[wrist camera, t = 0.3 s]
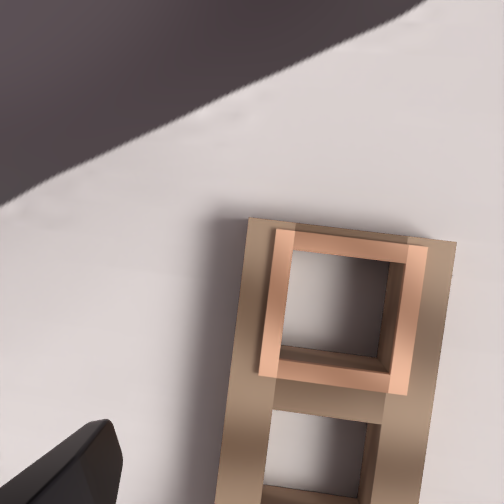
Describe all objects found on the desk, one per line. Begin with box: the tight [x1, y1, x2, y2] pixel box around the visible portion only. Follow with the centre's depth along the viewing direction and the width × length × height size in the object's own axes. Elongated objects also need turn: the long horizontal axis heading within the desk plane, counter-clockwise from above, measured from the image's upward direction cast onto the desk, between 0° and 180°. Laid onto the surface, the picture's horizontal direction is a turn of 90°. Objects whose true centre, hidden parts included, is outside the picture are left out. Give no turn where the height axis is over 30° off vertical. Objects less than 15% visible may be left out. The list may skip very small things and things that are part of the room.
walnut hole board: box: [214, 217, 457, 504], centre depth 22 cm, size 24×10×3 cm, turn 173°
